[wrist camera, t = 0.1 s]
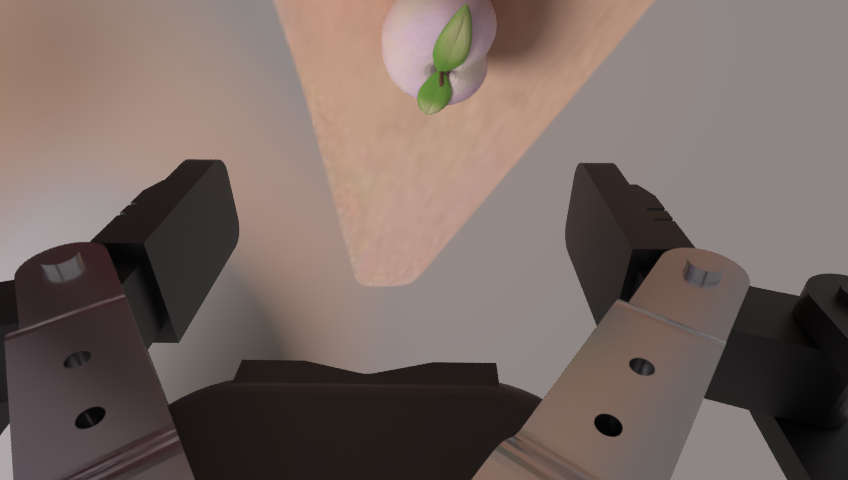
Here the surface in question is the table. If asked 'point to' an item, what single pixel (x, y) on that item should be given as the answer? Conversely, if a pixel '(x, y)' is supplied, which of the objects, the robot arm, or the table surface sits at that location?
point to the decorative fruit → (438, 48)
